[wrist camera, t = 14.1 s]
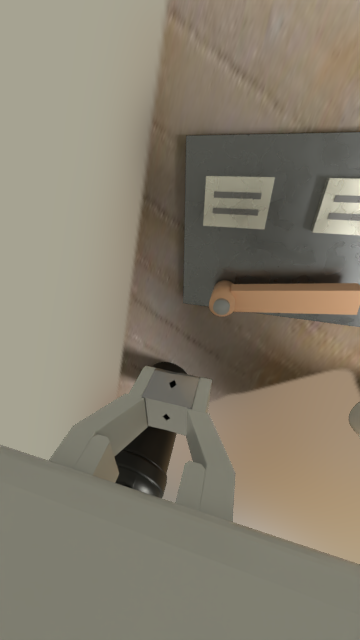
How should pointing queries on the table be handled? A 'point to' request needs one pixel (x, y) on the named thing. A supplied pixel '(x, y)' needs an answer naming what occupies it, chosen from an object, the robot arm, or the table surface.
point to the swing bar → (285, 298)
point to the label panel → (272, 213)
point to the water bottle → (148, 455)
